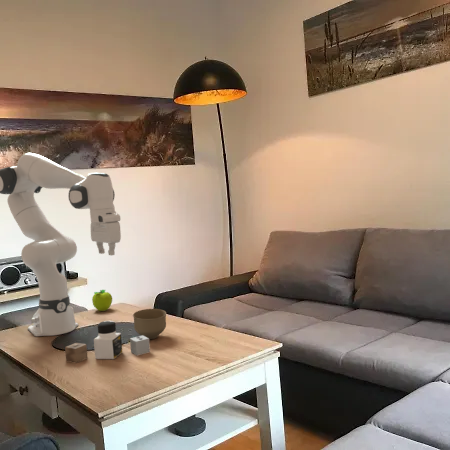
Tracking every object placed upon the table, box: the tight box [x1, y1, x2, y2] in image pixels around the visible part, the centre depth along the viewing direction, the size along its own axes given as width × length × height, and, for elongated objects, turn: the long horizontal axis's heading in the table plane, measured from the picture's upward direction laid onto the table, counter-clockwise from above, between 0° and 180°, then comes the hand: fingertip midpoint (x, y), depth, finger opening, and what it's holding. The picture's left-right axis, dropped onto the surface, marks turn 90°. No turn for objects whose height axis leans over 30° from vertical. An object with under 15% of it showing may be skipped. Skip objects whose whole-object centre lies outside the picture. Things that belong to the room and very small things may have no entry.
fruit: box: [91, 289, 113, 312], centre depth 238 cm, size 9×9×10 cm
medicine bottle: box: [93, 320, 123, 360], centre depth 172 cm, size 7×7×12 cm
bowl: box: [132, 308, 167, 340], centre depth 189 cm, size 13×13×10 cm
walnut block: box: [64, 342, 89, 364], centre depth 170 cm, size 5×5×5 cm
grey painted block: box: [129, 335, 151, 356], centre depth 174 cm, size 5×5×5 cm
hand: (106, 254), depth 181 cm, fingers open, 8 cm apart
